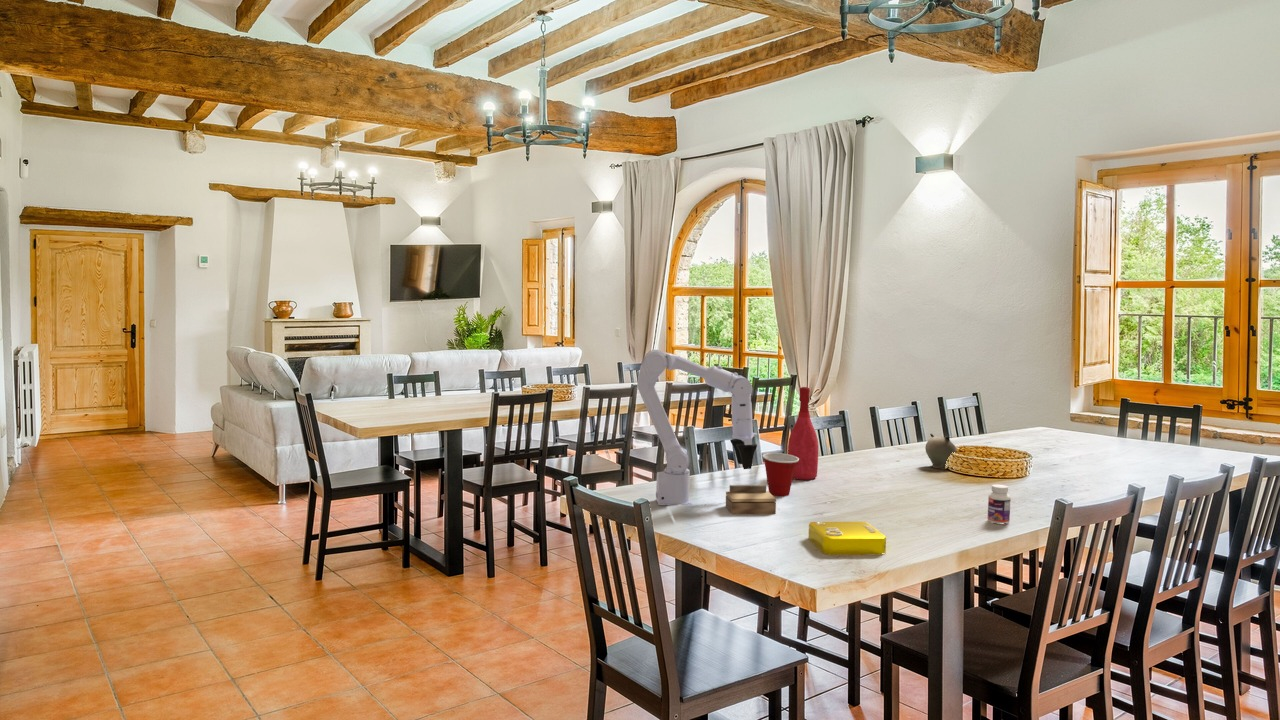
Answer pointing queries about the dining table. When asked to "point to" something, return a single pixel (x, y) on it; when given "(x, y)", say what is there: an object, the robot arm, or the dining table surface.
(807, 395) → the wine bottle
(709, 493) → the dining table surface
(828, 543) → the element tile
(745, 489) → the lid
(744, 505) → the walnut box
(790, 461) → the plastic cup
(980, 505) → the dining table surface
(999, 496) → the pill bottle
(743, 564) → the dining table surface
